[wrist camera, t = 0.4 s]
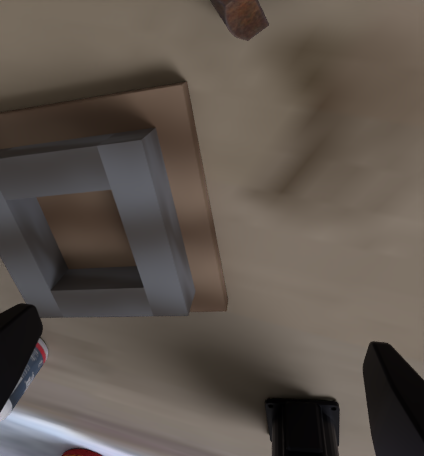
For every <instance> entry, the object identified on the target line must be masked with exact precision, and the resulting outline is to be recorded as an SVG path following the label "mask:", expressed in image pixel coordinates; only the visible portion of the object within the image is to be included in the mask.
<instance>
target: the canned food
mask: <svg viewBox="0 0 424 456" xmlns="http://www.w3.org/2000/svg"><path fill="white" fill-rule="evenodd" d="M62 456H102V455H100V454H98V453H96V452H93V451H90V450H86V449H70V450H67V451H66V452H64V454H63V455H62Z"/></svg>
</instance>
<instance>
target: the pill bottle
mask: <svg viewBox="0 0 424 456" xmlns="http://www.w3.org/2000/svg"><path fill="white" fill-rule="evenodd" d="M47 357H48V349H47V346H46V344H45V343H44V342H43V340H42V339H41V338H39V340H38V343H37V345H36V347H35V349H34V351H33V353H32V355H31V357H30V359H29V361H28V363H27V365H26V368H25V370H24V372H23V374H22V376H21V378H20V380H19V382H18V384H17V385H16V387H15V389H14V391H13V393H12V394H11V396H10V398H9V399H8V401H7V403H6V404H5V406H4V408H3V409H2V411H1V412H0V421H2V420H4V419H5V418H6V417H7V416H8V415H9V414H10V413H11V411H12V410H13V408H14V407H15V405H16V404H17V402H18V401H19V399H20V398H21V396H22V395H23V394H24V392H25V391H26V389H27V388H28V386H29V385H30V383H31V382H32V380H33V379H34V377H35V376H36V374H37V373H38V371H39V370H40V368H41V367H42V366H43V364H44V362H45V361H46V359H47Z"/></svg>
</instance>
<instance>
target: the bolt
mask: <svg viewBox="0 0 424 456" xmlns="http://www.w3.org/2000/svg"><path fill="white" fill-rule="evenodd" d="M210 1H211V3H212V4H213V6H214V7H215V9H216V11H217V12H218V14H219V15H220V17H221V18H222V20H223V21H224V23H225V25H226V26H227V28H228V30H229V31H230V32H231V33H232V34H233V35H234V36H235V37H237V38H240V39H243V40H247V41H248V40H250V39H251V38H252V37H254V36H255V35H256V34H258V33H259V32H261V31H262V30H263V29H265V28H266V27H267V26H269V23H268V21H267V19H266V17H265V15H264V12H263V10H262V8H261V6H260V4H259V2H258V0H210Z"/></svg>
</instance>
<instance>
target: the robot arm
mask: <svg viewBox="0 0 424 456" xmlns="http://www.w3.org/2000/svg"><path fill="white" fill-rule="evenodd" d="M42 330H43V325H42V322H41V319H40V316H39V313H38V311H37V308H36V307H35V306H34V305H32V304H23V303H22V304H17V305H15V306H14V307H12V308H10V309H8V310H6V311H4V312H2V313H0V412H1V411H2V409H3V408H4V406H5V404H6V403H7V401H8V399H9V398H10V396H11V394H12V393H13V391H14V389H15V387H16V385H17V384H18V382H19V380H20V378H21V376H22V374H23V372H24V370H25V368H26V365H27V363H28V361H29V359H30V357H31V355H32V353H33V351H34V349H35V347H36V345H37V343H38V340H39V338H40V336H41V334H42ZM363 377H364V385H365V392H366V400H367V407H368V415H369V422H370V429H371V436H372V440H373V445H374V449H375V453H376V456H424V380H423V379H422V378H421V377H420V376H419V375H418V373H417V372H416V371H415V370H414V369H413V368H412V367H411V366H410V365H409V364H408V363H407V362H406V361H405V360H404V359H403V358H402V356H401V355H400V354H399V353H398V352H397V351H396V350H395V349H394V348H393V347H392V346H391V345H390V344H388V343H384V342H375V341H373V342H371V343H370V344H369V346H368V350H367V353H366V356H365V359H364V363H363ZM265 408H266V415H267V421H268V428H269V435H270V440H271V442H272V456H339V453H338V446H339V411H340V409H339V404H338V403H337V402H335V401H316V400H289V399H267V400H266V401H265Z"/></svg>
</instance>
